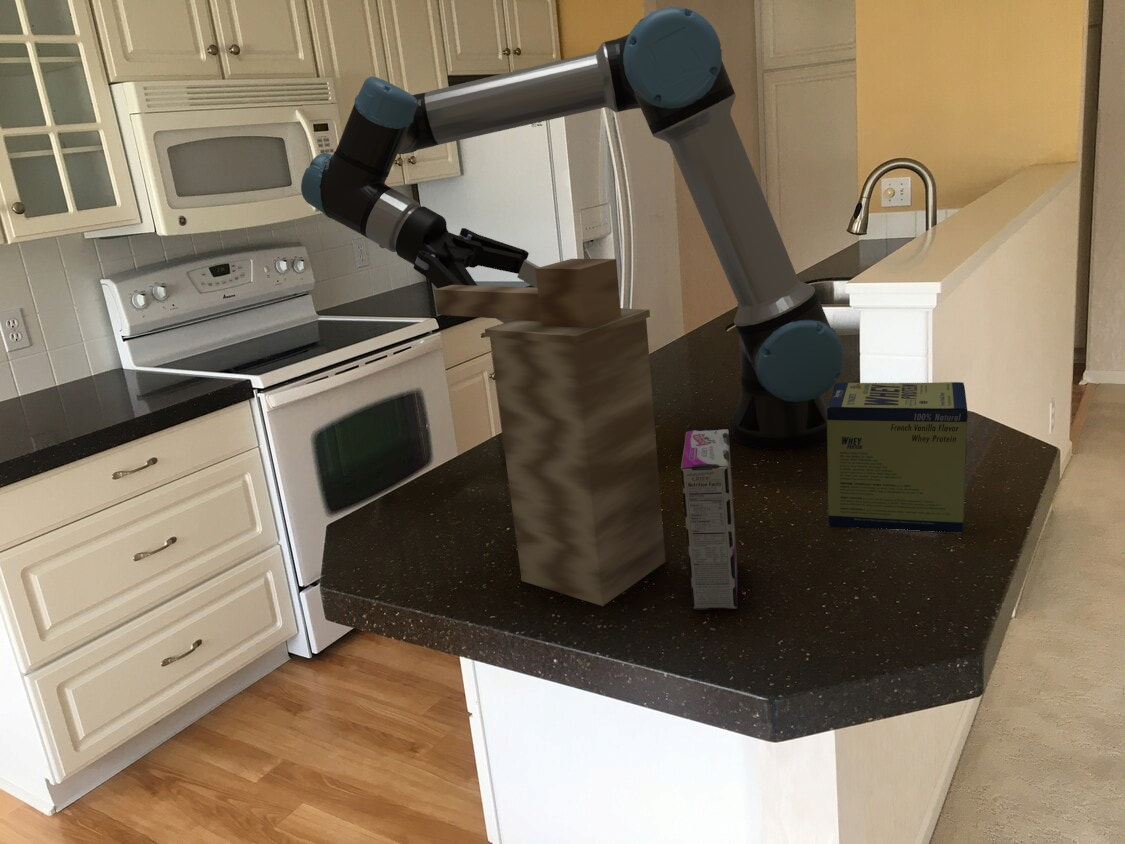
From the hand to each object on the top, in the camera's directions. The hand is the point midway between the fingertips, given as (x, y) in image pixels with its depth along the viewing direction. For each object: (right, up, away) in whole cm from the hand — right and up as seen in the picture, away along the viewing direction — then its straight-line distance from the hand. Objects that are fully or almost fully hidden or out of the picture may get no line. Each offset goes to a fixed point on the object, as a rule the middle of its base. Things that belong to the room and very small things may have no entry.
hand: (544, 306), depth 123 cm
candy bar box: (+19, -34, -20) cm, 44 cm away
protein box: (+44, -27, -8) cm, 52 cm away
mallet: (-2, -4, -19) cm, 19 cm away
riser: (+6, -33, -14) cm, 36 cm away
